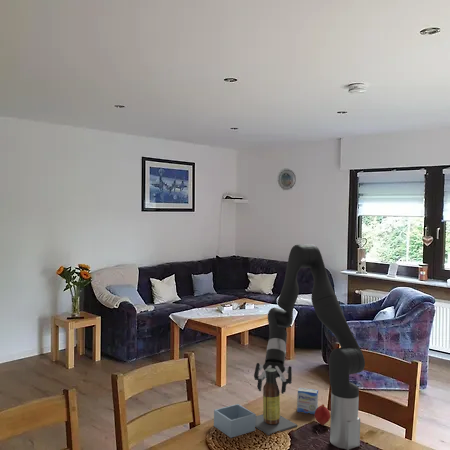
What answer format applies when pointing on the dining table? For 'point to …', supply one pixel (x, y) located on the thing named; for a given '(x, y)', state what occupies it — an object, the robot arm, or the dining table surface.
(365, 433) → the dining table surface
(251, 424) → the tub
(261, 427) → the mat
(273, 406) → the sauce bottle
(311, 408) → the medicine box
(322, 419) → the onion
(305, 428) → the dining table surface
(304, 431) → the dining table surface
